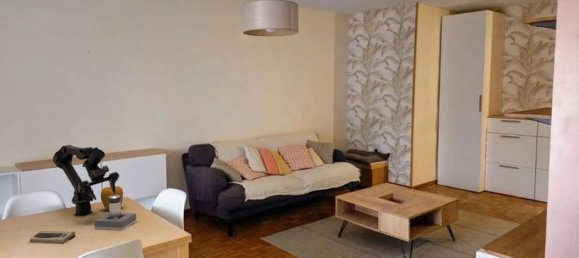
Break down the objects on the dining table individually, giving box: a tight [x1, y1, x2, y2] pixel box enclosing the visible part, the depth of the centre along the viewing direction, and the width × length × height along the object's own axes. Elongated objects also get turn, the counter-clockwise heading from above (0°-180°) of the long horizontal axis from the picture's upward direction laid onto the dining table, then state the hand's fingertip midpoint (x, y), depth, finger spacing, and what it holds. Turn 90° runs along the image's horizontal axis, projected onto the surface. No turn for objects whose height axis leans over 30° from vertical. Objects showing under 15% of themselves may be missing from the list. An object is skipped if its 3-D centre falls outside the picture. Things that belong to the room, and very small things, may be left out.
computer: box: [29, 230, 76, 245], centre depth 177 cm, size 16×8×3 cm, turn 84°
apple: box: [100, 185, 124, 211], centre depth 219 cm, size 11×11×13 cm
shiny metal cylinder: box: [108, 195, 122, 219], centre depth 194 cm, size 5×5×13 cm
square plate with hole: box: [93, 212, 137, 231], centre depth 195 cm, size 14×12×4 cm
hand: (105, 196), depth 199 cm, fingers open, 9 cm apart
